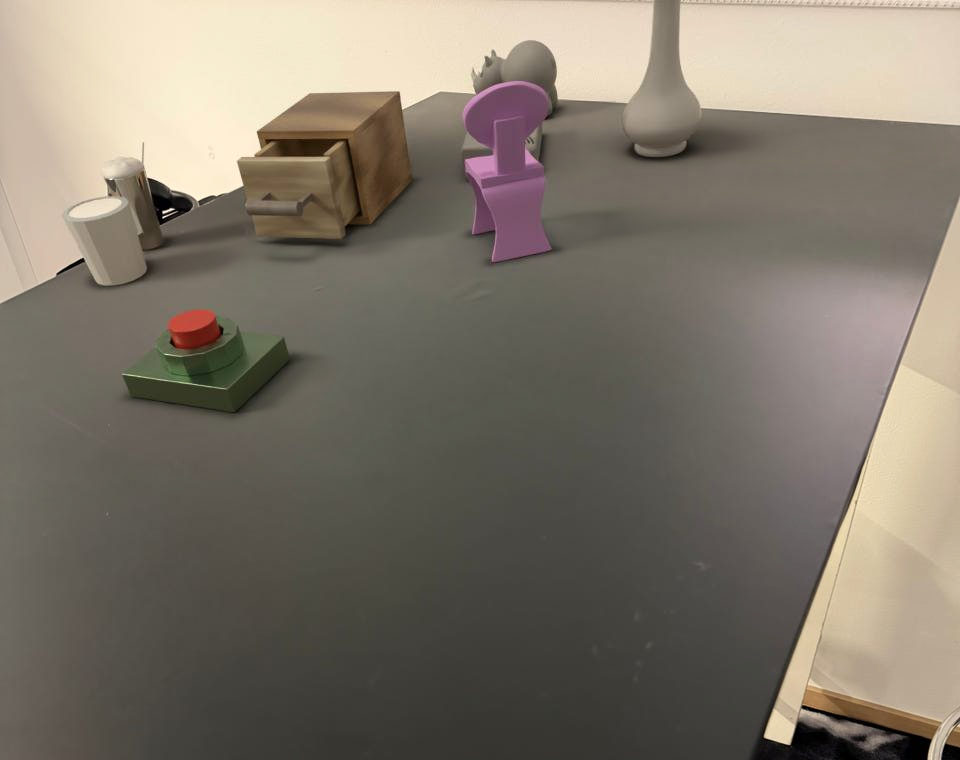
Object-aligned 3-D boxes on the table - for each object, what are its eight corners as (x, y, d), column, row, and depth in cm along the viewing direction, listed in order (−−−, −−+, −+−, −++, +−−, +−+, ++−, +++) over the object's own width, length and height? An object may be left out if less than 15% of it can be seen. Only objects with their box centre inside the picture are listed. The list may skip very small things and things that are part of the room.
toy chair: (535, 218, 95) (527, 57, 84) (561, 248, 89) (556, 78, 78) (461, 233, 94) (444, 72, 83) (483, 264, 88) (467, 95, 77)
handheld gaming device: (463, 181, 105) (460, 146, 102) (475, 140, 115) (472, 107, 112) (537, 177, 104) (536, 142, 101) (542, 136, 114) (541, 103, 111)
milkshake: (181, 242, 100) (149, 146, 93) (136, 256, 98) (100, 160, 91) (169, 231, 103) (137, 137, 96) (125, 244, 101) (89, 150, 94)
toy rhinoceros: (483, 106, 125) (477, 36, 119) (564, 105, 122) (562, 32, 116) (467, 122, 121) (460, 50, 115) (550, 121, 117) (548, 47, 111)
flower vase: (585, 135, 112) (582, -120, 94) (733, 129, 108) (759, -139, 90) (571, 172, 103) (565, -102, 85) (732, 167, 99) (761, -121, 81)
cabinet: (370, 224, 98) (353, 130, 91) (279, 222, 101) (256, 131, 94) (412, 180, 107) (399, 91, 100) (327, 179, 110) (309, 93, 103)
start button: (165, 348, 74) (157, 329, 72) (193, 326, 76) (186, 307, 75) (203, 353, 72) (196, 333, 71) (230, 330, 75) (224, 311, 74)
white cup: (165, 263, 96) (141, 196, 91) (124, 291, 92) (96, 222, 87) (118, 258, 98) (92, 192, 93) (76, 284, 94) (47, 217, 89)
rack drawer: (326, 255, 91) (308, 175, 85) (239, 252, 94) (216, 174, 88) (384, 195, 102) (372, 120, 96) (305, 194, 104) (288, 121, 99)
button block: (130, 396, 76) (112, 354, 73) (191, 346, 81) (176, 305, 79) (234, 412, 72) (219, 368, 69) (290, 359, 78) (278, 316, 75)
